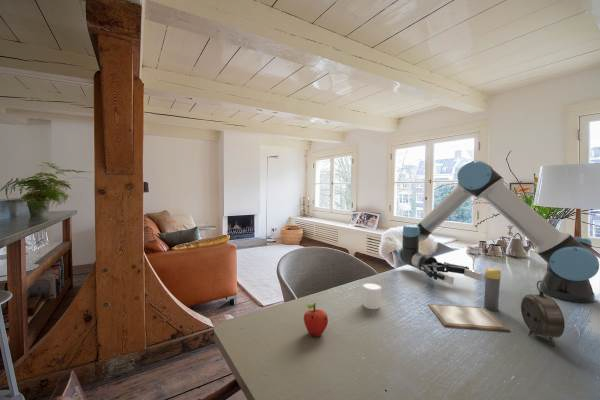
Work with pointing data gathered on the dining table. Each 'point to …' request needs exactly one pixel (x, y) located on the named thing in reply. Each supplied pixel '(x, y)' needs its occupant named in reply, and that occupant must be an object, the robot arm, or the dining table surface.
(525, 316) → the alarm clock
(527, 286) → the dining table surface
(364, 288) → the white cylinder
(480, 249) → the wineglass
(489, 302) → the marker
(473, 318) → the wooden picture frame
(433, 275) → the robot arm
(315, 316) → the apple
